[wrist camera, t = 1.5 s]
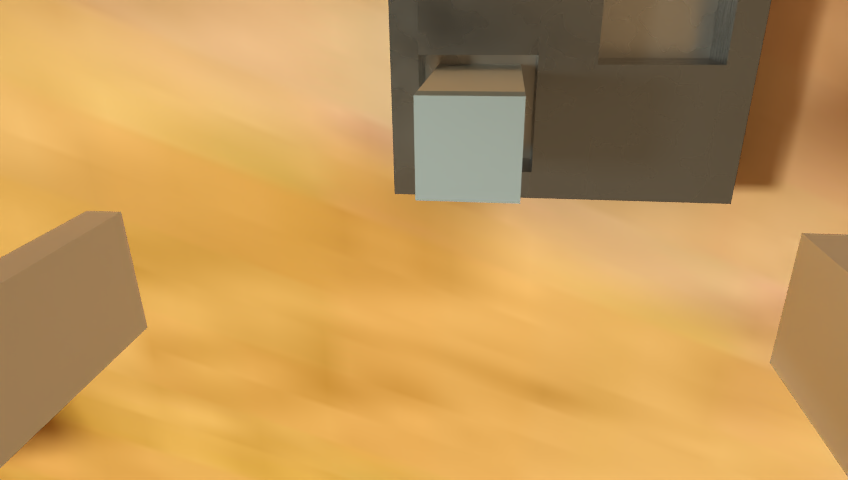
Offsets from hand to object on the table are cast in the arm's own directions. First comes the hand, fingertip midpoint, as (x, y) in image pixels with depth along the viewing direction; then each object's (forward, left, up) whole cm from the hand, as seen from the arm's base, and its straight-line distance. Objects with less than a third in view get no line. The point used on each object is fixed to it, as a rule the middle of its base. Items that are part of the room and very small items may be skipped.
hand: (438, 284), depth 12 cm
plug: (0, 0, -20) cm, 20 cm away
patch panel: (+4, +2, -21) cm, 21 cm away
